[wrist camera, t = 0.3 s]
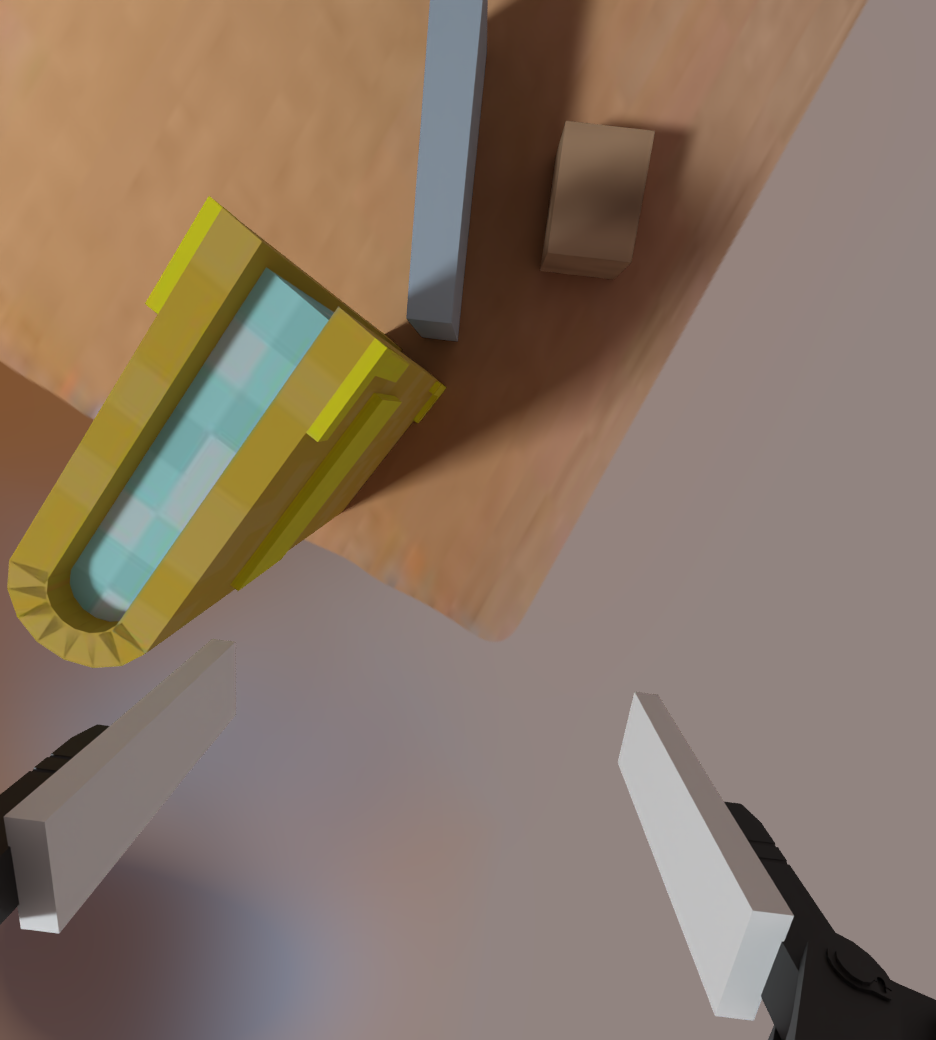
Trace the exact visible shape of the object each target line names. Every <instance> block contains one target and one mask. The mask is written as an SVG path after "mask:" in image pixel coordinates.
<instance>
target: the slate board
mask: <svg viewBox="0 0 936 1040" xmlns="http://www.w3.org/2000/svg"><path fill="white" fill-rule="evenodd" d="M487 6H488V0H430V9H429V22H428V36H427V49H426V62H425V76H424V89H423V103H422V116H421V130H420V143H419V156H418V170H417V183H416V197H415V210H414V224H413V237H412V250H411V264H410V277H409V291H408V304H407V320H408V321H409V322H410V323H411V325H412V326H413V327H414V328H415V329H416V331H417V332H418V333H419V334H420V336H421V337H423V338H432V339H440V340H449V341H458V334H459V324H460V314H461V304H462V294H463V284H464V274H465V264H466V254H467V244H468V234H469V224H470V214H471V205H472V195H473V185H474V175H475V165H476V155H477V145H478V135H479V125H480V115H481V105H482V95H483V85H484V75H485V65H486V55H487Z"/></svg>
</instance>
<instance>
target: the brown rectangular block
mask: <svg viewBox="0 0 936 1040" xmlns="http://www.w3.org/2000/svg"><path fill="white" fill-rule="evenodd" d="M654 134H655V131H651V130H642V129H633V128H625V127H616V126H607V125H599V124H590V123H581V122H573V121H566V122H565V126H564V129H563V132H562V136H561V139H560V143H559V146H558V150H557V153H556V157H555V164H554V172H553V179H552V186H551V194H550V201H549V208H548V216H547V223H546V230H545V238H544V245H543V252H542V259H541V267H540V271H545V272H553V273H562V274H571V275H579V276H588V277H597V278H605V279H615V278H616V277H617V276H618V275H619V274H620V273H621V272H622V271H623V270H624V269H625V268H626V267H627V266H628V265H629V264H630V263H631V262H632V256H633V251H634V245H635V240H636V234H637V229H638V223H639V217H640V212H641V206H642V201H643V195H644V189H645V184H646V178H647V173H648V167H649V162H650V156H651V150H652V145H653V139H654Z"/></svg>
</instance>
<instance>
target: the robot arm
mask: <svg viewBox="0 0 936 1040" xmlns="http://www.w3.org/2000/svg"><path fill="white" fill-rule="evenodd" d="M235 715H236V642H232V641H223V640H216V639H212V640H211V641H209V642H208V643H207V644H206V645H205V646H204V647H202V648H201V649H200V650H199V651H198V652H196V653H195V654H194V655H193V656H192V657H191V658H189V659H188V660H187V661H186V662H185V663H184V664H182V665H181V666H180V667H179V668H178V669H176V671H174V672H173V673H172V674H171V675H169V676H168V677H167V678H166V679H165V680H164V681H162V682H161V683H160V684H159V685H158V686H156V687H155V688H154V689H153V690H152V691H151V692H149V693H148V694H147V695H146V696H145V697H144V698H142V699H141V700H140V701H139V702H138V703H137V704H136V705H134V706H133V707H132V708H131V709H129V710H128V711H127V712H126V713H125V714H124V715H122V716H121V717H120V718H119V719H118V720H117V721H115V722H114V723H113V724H112V725H111V726H104V725H96V726H94V727H91V728H89V729H87V730H85V731H84V732H82V733H80V734H78V735H76V736H74V737H72V738H70V739H69V740H68V741H67V742H65V743H64V744H63V745H62V746H60V747H59V748H58V749H57V750H55V751H54V752H53V753H52V754H51V756H50V757H47V758H45V759H44V760H43V761H42V762H41V763H39V764H38V765H37V766H35V767H34V770H33V771H29V772H28V773H27V774H25V775H24V776H23V777H22V778H20V779H19V780H18V781H17V782H15V783H14V784H13V785H12V786H11V787H9V788H8V789H7V790H6V791H4V792H3V793H2V794H0V924H1V923H2V922H3V921H4V920H5V919H6V918H7V917H8V916H9V915H10V914H11V913H12V911H13V910H14V909H15V908H16V907H17V906H18V913H19V919H20V926H21V928H22V929H29V930H36V931H44V932H53V933H60V932H61V931H62V929H63V928H64V927H65V926H66V924H67V923H68V922H69V920H70V919H71V918H72V917H73V916H74V914H75V913H76V912H77V911H78V909H79V908H80V907H81V906H82V904H83V903H84V902H85V901H86V900H87V898H88V897H89V896H90V895H91V893H92V892H93V891H94V890H95V888H96V887H97V886H98V885H99V883H100V882H101V881H102V880H103V878H104V877H105V876H106V874H108V872H109V871H110V870H111V869H112V867H113V866H114V865H115V864H116V862H117V861H118V860H119V859H120V857H121V856H122V855H123V854H124V852H125V851H126V850H127V849H128V848H129V846H130V845H131V844H132V843H133V841H134V840H135V839H136V838H137V836H138V835H139V834H140V833H141V831H142V830H143V829H144V828H145V826H146V825H147V824H148V823H149V822H150V820H151V819H152V817H154V815H155V814H156V813H157V811H158V810H159V809H160V808H161V807H162V805H163V804H164V803H165V802H166V800H167V799H168V798H169V797H170V795H171V794H172V793H173V792H174V791H175V789H176V788H177V787H178V786H179V784H180V783H181V782H182V781H183V779H184V778H185V777H186V776H187V774H188V773H189V772H190V771H191V769H192V768H193V767H194V766H195V765H196V763H197V762H198V761H199V759H200V758H201V757H202V756H203V755H204V753H205V752H206V751H207V750H208V748H209V747H210V746H211V744H212V743H213V742H214V741H215V740H216V738H217V737H218V736H219V735H220V734H221V732H222V731H223V730H224V729H225V727H226V726H227V725H228V724H229V722H230V721H231V720H232V719H233V717H234V716H235ZM618 764H619V767H620V769H621V772H622V774H623V777H624V780H625V782H626V785H627V787H628V790H629V793H630V795H631V798H632V800H633V803H634V806H635V808H636V811H637V814H638V816H639V819H640V821H641V824H642V827H643V829H644V832H645V834H646V837H647V840H648V842H649V845H650V847H651V850H652V853H653V855H654V858H655V860H656V863H657V865H658V868H659V871H660V873H661V876H662V879H663V881H664V884H665V887H666V889H667V892H668V894H669V897H670V899H671V902H672V904H673V907H674V910H675V913H676V915H677V918H678V920H679V923H680V926H681V928H682V931H683V933H684V936H685V939H686V941H687V944H688V946H689V949H690V952H691V954H692V957H693V959H694V962H695V965H696V967H697V970H698V972H699V975H700V978H701V980H702V983H703V986H704V988H705V991H706V993H707V996H708V999H709V1001H710V1004H711V1006H712V1009H713V1011H714V1014H715V1016H721V1017H728V1018H737V1019H744V1020H754V1018H755V1015H756V1013H757V1010H758V1008H759V1005H760V1003H761V1000H762V999H763V1002H764V1004H765V1006H766V1008H767V1010H768V1012H769V1014H770V1016H771V1018H772V1021H773V1023H774V1027H773V1029H772V1032H771V1034H770V1036H769V1039H768V1040H936V1000H934V999H932V998H930V997H928V996H925V995H923V994H921V993H918V992H916V991H914V990H912V989H909V988H907V987H905V986H902V985H900V984H898V983H896V982H894V981H892V980H890V979H889V977H888V975H887V974H886V972H885V971H884V970H883V969H882V968H881V967H880V965H879V964H877V962H876V961H875V960H874V959H873V958H872V957H871V956H870V955H869V954H868V953H867V952H865V951H864V950H863V949H861V948H860V947H859V946H858V945H856V944H855V943H854V942H852V941H850V940H848V939H846V938H844V937H843V936H841V935H839V934H837V933H835V931H834V930H833V929H832V927H831V926H830V924H829V923H828V921H827V920H826V918H825V917H824V915H823V914H822V912H821V911H820V909H819V908H818V906H817V905H816V903H815V902H814V900H813V899H812V897H811V896H810V894H809V893H808V891H807V890H806V888H805V887H804V886H803V884H802V883H801V881H800V880H799V878H798V877H797V875H796V874H795V872H794V871H793V869H792V868H791V866H790V865H787V862H786V861H787V860H786V859H785V857H784V856H783V855H782V853H781V851H780V850H779V848H778V847H775V843H774V841H773V840H772V838H771V837H770V835H769V834H768V832H767V831H766V829H765V828H764V826H763V825H762V823H761V822H760V821H759V820H758V819H757V818H755V816H753V815H752V814H751V813H750V812H749V811H748V810H747V809H746V808H745V807H744V806H743V805H742V804H738V803H730V802H724V801H723V800H722V798H721V796H720V795H719V793H718V791H717V790H716V788H715V787H714V785H713V784H712V782H711V780H710V779H709V777H708V775H707V774H706V772H705V770H704V769H703V767H702V765H701V764H700V762H699V761H698V759H697V757H696V756H695V754H694V752H693V751H692V749H691V748H690V746H689V744H688V743H687V741H686V739H685V738H684V736H683V735H682V733H681V731H680V730H679V728H678V726H677V725H676V723H675V722H674V720H673V718H672V717H671V715H670V713H669V712H668V710H667V709H666V707H665V705H664V704H663V702H662V700H661V699H660V697H659V696H658V695H656V694H648V693H640V692H635V693H634V697H633V701H632V705H631V709H630V714H629V718H628V722H627V726H626V730H625V734H624V739H623V743H622V747H621V751H620V755H619V760H618Z"/></svg>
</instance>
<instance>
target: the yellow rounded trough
mask: <svg viewBox="0 0 936 1040" xmlns="http://www.w3.org/2000/svg"><path fill="white" fill-rule="evenodd" d="M145 304H146V305H147V306H148V307H150V308H151V309H152V310H153V311H155V312H156V313H157V314H158V315H157V317H156V318H155V320H154V322H153V323H152V325H151V326H150V328H149V330H148V331H147V333H146V335H145V336H144V338H143V340H142V341H141V343H140V345H139V346H138V348H137V350H136V351H135V353H134V355H133V356H132V358H131V360H130V361H129V363H128V365H127V366H126V368H125V370H124V371H123V373H122V374H121V376H120V378H119V379H118V381H117V383H116V384H115V386H114V388H113V389H112V391H111V393H110V394H109V396H108V398H107V399H106V401H105V403H104V404H103V406H102V408H101V409H100V411H99V413H98V414H97V416H96V418H95V419H94V421H93V423H92V424H91V426H90V427H89V429H88V431H87V433H86V434H85V436H84V437H83V439H82V441H81V442H80V444H79V446H78V448H77V449H76V451H75V452H74V454H73V456H72V457H71V459H70V461H69V462H68V464H67V466H66V467H65V469H64V471H63V472H62V474H61V475H60V477H59V479H58V480H57V482H56V484H55V486H54V487H53V489H52V491H51V492H50V494H49V495H48V497H47V499H46V500H45V502H44V504H43V505H42V507H41V509H40V510H39V512H38V514H37V515H36V517H35V519H34V520H33V522H32V523H31V525H30V527H29V528H28V530H27V532H26V533H25V535H24V537H23V538H22V540H21V542H20V543H19V545H18V547H17V548H16V550H15V552H14V553H13V555H12V557H11V558H10V560H9V571H8V586H7V589H8V592H9V595H10V597H11V600H12V603H13V606H14V609H15V612H16V615H17V617H18V618H19V620H20V621H21V622H22V623H23V625H24V626H25V627H26V628H27V630H28V631H29V632H30V633H31V635H32V636H33V637H34V638H35V640H36V641H37V642H38V643H40V644H41V645H43V646H44V647H46V648H47V649H49V650H50V651H52V652H54V653H55V654H56V655H58V656H59V657H61V658H62V659H64V660H68V661H71V662H75V663H78V664H82V665H85V666H89V667H92V668H98V667H112V666H122V665H124V664H126V663H128V662H130V661H132V660H134V659H136V658H138V657H140V656H142V655H144V654H146V653H147V652H148V651H150V650H151V649H152V648H154V647H155V646H157V645H158V644H159V643H161V642H162V641H164V640H165V639H166V638H168V637H169V636H171V635H172V634H173V633H175V632H176V631H177V630H179V629H180V628H182V627H183V626H184V625H186V624H187V623H189V622H190V621H191V620H193V619H194V618H195V617H197V616H198V615H200V614H201V613H202V612H204V611H205V610H207V609H208V608H209V607H211V606H212V605H213V604H215V603H216V602H218V601H219V600H221V599H222V598H223V597H225V596H226V595H227V594H229V593H230V592H231V591H233V590H234V589H236V590H238V591H239V590H240V589H241V588H243V587H244V586H246V585H247V584H248V583H250V582H251V581H252V580H254V579H255V578H256V577H258V576H259V575H260V574H262V573H263V572H265V571H266V570H267V569H269V568H270V567H271V566H273V565H274V564H275V563H277V562H278V561H280V560H281V559H282V558H283V556H284V555H285V554H286V552H287V551H288V550H290V549H291V548H293V547H294V546H295V545H297V544H298V543H300V542H301V541H302V540H304V539H305V538H307V537H308V536H309V535H311V534H312V533H314V532H315V531H316V530H318V529H319V528H320V527H322V526H323V525H325V524H326V523H327V522H329V521H330V520H332V519H333V518H334V517H336V516H337V515H339V514H340V513H341V512H343V510H344V509H345V508H346V506H347V505H348V504H349V503H350V501H351V500H352V499H353V498H354V496H355V495H356V494H357V492H358V491H359V490H360V489H361V487H362V486H363V485H364V483H365V482H366V481H367V480H368V478H369V477H370V476H371V475H372V473H373V472H374V471H375V469H376V468H377V467H378V466H379V464H380V463H381V462H382V460H383V459H384V458H385V457H386V455H387V454H388V453H389V452H390V450H391V449H392V448H393V446H394V445H395V444H396V443H397V441H398V440H399V439H400V437H401V436H402V435H403V434H404V432H405V431H406V430H407V429H408V427H409V426H410V425H411V423H412V422H413V421H415V422H416V423H419V422H420V421H421V420H422V419H423V417H424V416H425V415H426V413H427V412H428V411H429V410H430V408H431V407H432V406H433V405H434V403H435V402H436V401H437V399H438V398H439V397H440V396H441V394H442V393H443V392H444V391H445V389H446V388H447V387H445V386H444V385H443V384H442V383H441V382H440V381H438V380H437V379H436V378H435V377H434V376H433V375H431V374H430V373H429V372H428V371H426V370H425V369H424V368H422V367H421V366H419V365H418V364H417V363H415V362H414V361H413V360H411V359H410V358H408V357H407V356H406V355H404V354H403V353H402V352H401V351H402V349H401V348H400V347H399V346H398V345H396V344H395V343H394V342H393V341H392V340H391V339H389V338H388V337H387V336H386V335H385V334H384V333H382V332H381V331H379V330H378V329H377V328H375V327H374V326H373V325H372V324H370V323H369V322H368V321H367V320H365V319H364V318H363V317H361V316H360V315H359V314H358V313H356V312H355V311H354V310H352V309H351V308H350V307H349V306H347V305H346V304H345V303H344V302H342V301H341V300H340V299H338V298H337V297H336V296H335V295H333V294H332V293H331V292H330V291H328V290H327V289H326V288H324V287H323V286H322V285H321V284H319V283H318V282H317V281H315V280H314V279H313V278H312V277H310V276H309V275H308V274H307V273H305V272H304V271H303V270H301V269H300V268H299V267H298V266H296V265H295V264H294V263H293V262H291V261H290V260H289V259H287V258H286V257H285V256H284V255H282V254H281V253H280V252H278V251H277V250H276V249H275V248H273V247H272V246H271V245H270V244H268V243H267V242H266V241H264V240H263V239H262V238H261V237H259V236H258V235H257V234H256V233H254V232H253V231H252V230H250V229H249V228H248V227H247V226H245V225H244V224H243V223H241V222H240V221H239V220H238V219H237V218H236V217H234V216H233V215H232V214H231V213H230V212H229V211H227V210H226V209H225V208H224V207H222V206H221V205H220V204H219V203H217V202H216V201H215V200H213V199H212V198H211V197H210V196H209V197H208V198H207V200H206V202H205V203H204V205H203V207H202V208H201V210H200V212H199V214H198V215H197V217H196V219H195V220H194V222H193V224H192V225H191V227H190V229H189V230H188V232H187V234H186V235H185V237H184V239H183V240H182V242H181V244H180V245H179V247H178V249H177V251H176V252H175V254H174V256H173V257H172V259H171V261H170V262H169V264H168V266H167V267H166V269H165V271H164V272H163V274H162V276H161V277H160V279H159V281H158V283H157V284H156V286H155V288H154V289H153V291H152V293H151V294H150V296H149V298H148V299H147V301H146V303H145Z"/></svg>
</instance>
